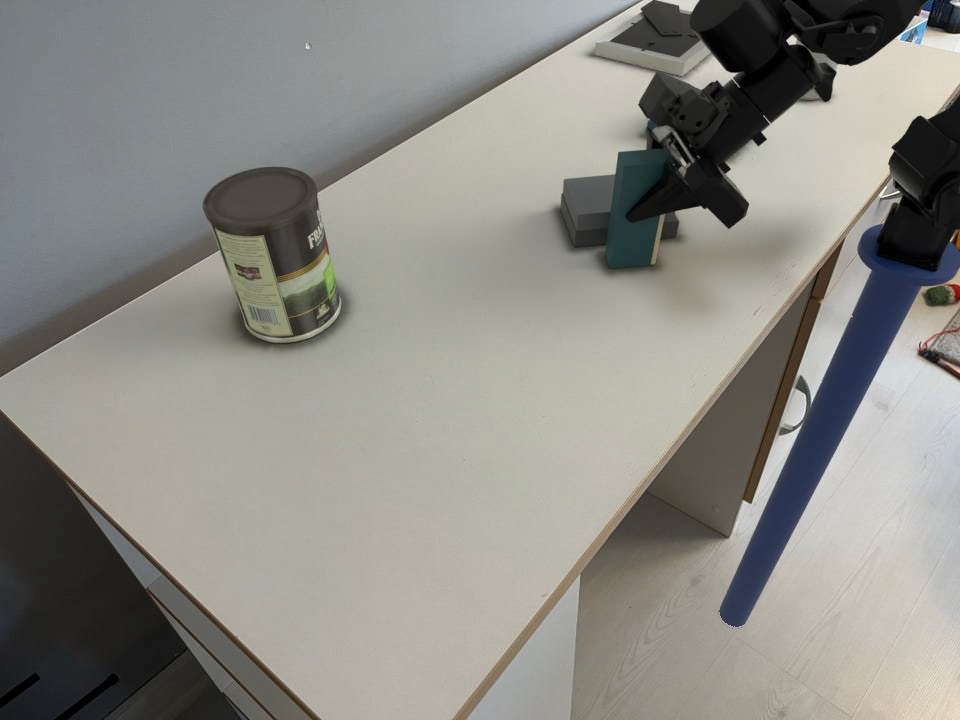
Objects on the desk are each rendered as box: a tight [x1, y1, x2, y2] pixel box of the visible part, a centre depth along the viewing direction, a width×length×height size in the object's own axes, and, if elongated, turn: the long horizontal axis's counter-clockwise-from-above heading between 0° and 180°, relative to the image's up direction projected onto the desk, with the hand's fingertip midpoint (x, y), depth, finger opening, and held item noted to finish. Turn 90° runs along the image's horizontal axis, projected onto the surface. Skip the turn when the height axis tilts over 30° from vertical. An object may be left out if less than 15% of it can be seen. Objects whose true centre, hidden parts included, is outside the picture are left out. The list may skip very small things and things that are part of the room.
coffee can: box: [202, 166, 342, 344], centre depth 70 cm, size 10×10×14 cm
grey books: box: [560, 173, 680, 248], centre depth 83 cm, size 12×8×4 cm, turn 97°
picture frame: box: [594, 0, 712, 77], centre depth 121 cm, size 16×3×21 cm
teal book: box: [604, 148, 675, 270], centre depth 75 cm, size 5×3×13 cm, turn 95°
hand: (624, 211), depth 75 cm, fingers closed on teal book, 3 cm apart
